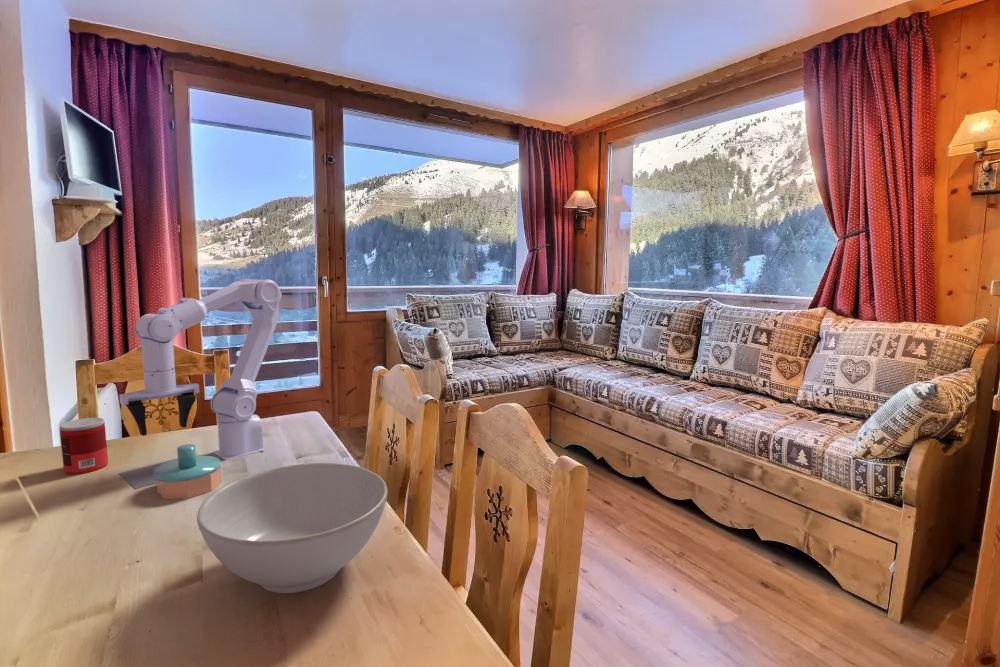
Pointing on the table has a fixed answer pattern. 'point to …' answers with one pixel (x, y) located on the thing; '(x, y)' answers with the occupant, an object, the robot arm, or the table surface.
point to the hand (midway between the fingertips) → (163, 430)
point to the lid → (186, 466)
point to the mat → (141, 476)
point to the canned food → (83, 445)
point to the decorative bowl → (293, 523)
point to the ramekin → (189, 486)
